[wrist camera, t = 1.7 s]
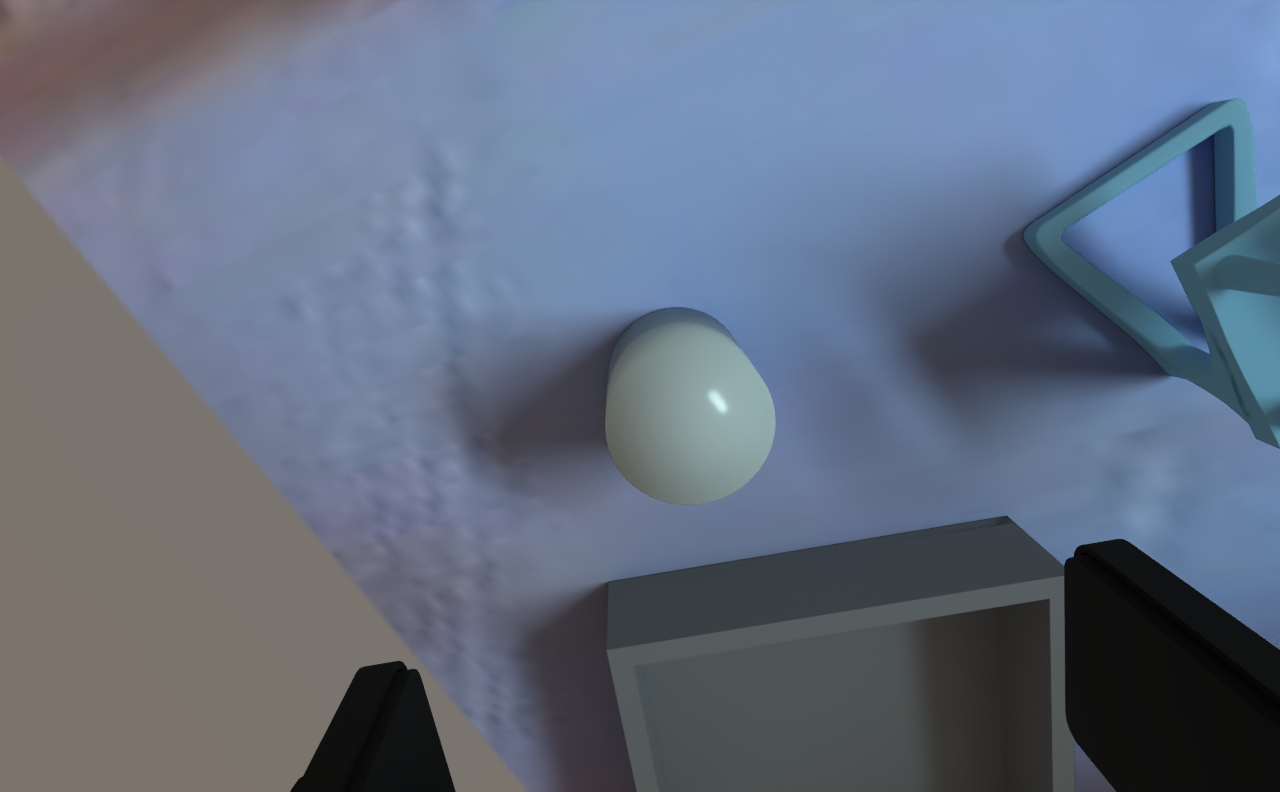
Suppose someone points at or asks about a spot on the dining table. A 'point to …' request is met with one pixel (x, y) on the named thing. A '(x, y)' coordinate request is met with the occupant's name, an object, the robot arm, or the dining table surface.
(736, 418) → the pale green capsule
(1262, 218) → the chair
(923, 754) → the bin
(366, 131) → the dining table surface
